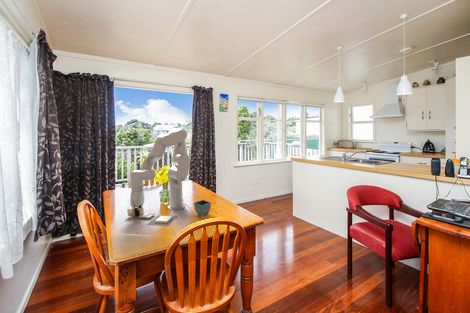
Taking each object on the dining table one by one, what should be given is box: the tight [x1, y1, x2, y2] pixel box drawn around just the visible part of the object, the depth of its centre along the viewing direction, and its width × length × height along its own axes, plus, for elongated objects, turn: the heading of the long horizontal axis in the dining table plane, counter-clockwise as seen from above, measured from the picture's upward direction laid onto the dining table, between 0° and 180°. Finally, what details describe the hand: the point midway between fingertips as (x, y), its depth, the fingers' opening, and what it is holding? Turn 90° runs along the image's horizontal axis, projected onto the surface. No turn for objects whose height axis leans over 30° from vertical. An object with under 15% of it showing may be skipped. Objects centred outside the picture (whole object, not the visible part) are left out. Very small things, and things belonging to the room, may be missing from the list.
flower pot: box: [193, 199, 212, 217], centre depth 157 cm, size 9×9×9 cm
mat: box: [146, 214, 178, 227], centre depth 147 cm, size 16×14×1 cm
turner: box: [126, 207, 156, 219], centre depth 153 cm, size 17×7×5 cm, turn 83°
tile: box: [155, 215, 173, 223], centre depth 147 cm, size 8×1×8 cm
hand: (138, 214), depth 153 cm, fingers closed on turner, 2 cm apart
